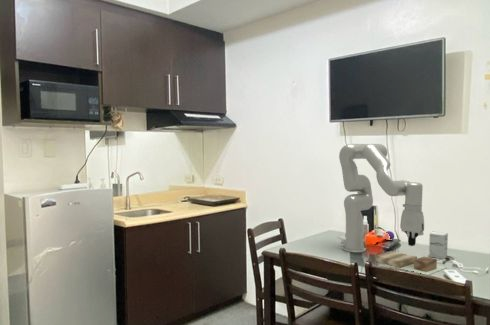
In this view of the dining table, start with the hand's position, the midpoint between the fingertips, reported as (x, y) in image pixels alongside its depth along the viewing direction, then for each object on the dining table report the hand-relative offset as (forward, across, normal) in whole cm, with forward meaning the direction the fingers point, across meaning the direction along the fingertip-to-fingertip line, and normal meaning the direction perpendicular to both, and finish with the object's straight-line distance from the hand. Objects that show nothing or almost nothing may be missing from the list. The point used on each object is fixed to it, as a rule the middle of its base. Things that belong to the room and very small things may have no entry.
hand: (411, 245), depth 188 cm
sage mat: (+10, +6, 0) cm, 12 cm away
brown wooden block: (+7, +8, -1) cm, 10 cm away
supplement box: (+10, 0, +26) cm, 28 cm away
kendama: (+12, -37, +32) cm, 51 cm away
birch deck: (+10, -8, 0) cm, 13 cm away
